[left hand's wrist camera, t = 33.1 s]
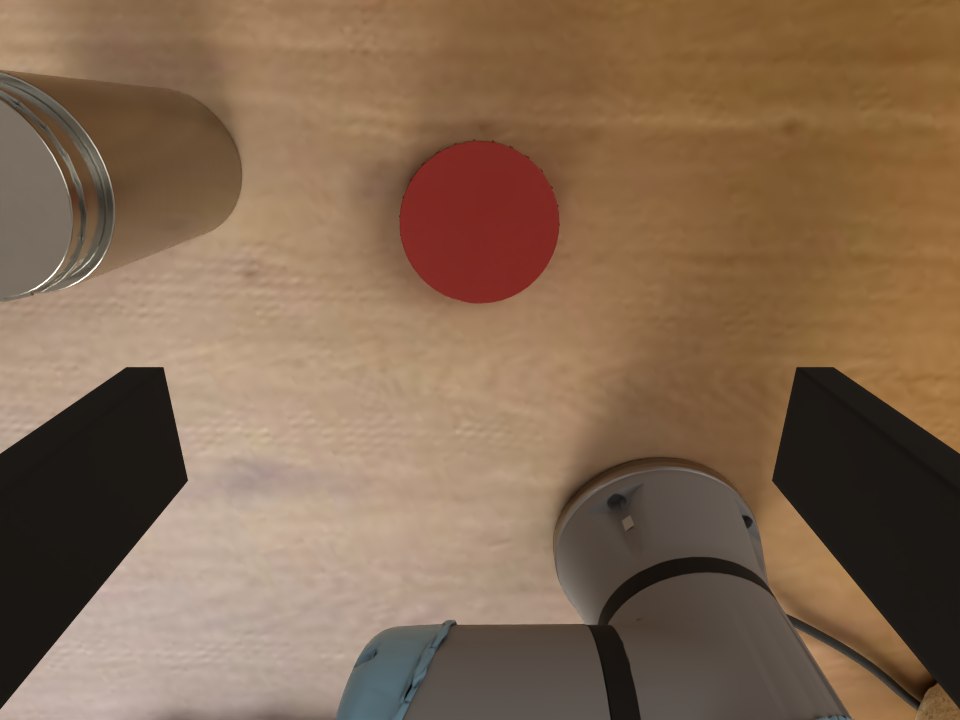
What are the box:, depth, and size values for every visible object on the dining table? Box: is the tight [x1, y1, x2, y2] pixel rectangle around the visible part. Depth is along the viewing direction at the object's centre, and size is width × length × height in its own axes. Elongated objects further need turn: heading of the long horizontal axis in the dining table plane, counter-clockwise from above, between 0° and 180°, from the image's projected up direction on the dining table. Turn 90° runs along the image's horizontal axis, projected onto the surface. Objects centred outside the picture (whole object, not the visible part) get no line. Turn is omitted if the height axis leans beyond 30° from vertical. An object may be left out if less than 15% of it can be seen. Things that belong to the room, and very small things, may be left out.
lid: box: [399, 139, 560, 303], centre depth 36 cm, size 10×10×2 cm
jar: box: [0, 70, 242, 302], centre depth 28 cm, size 9×9×16 cm
